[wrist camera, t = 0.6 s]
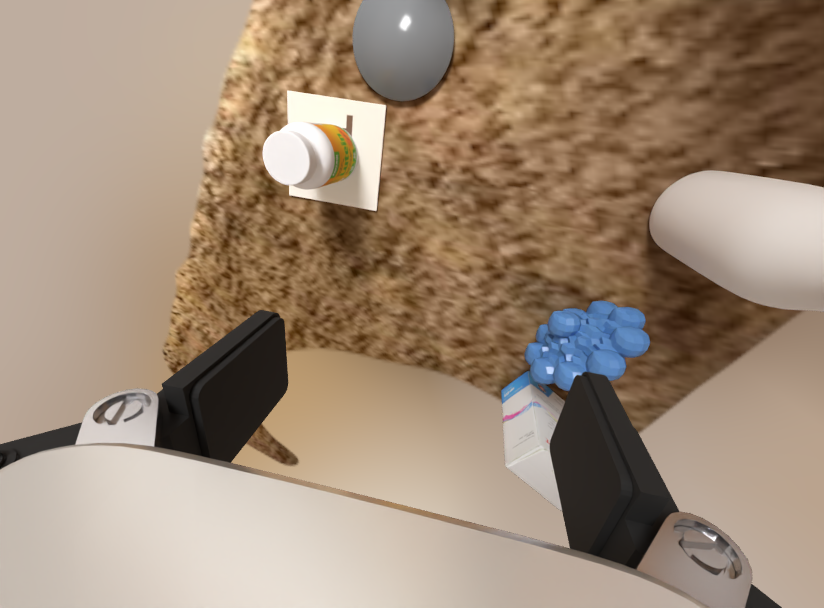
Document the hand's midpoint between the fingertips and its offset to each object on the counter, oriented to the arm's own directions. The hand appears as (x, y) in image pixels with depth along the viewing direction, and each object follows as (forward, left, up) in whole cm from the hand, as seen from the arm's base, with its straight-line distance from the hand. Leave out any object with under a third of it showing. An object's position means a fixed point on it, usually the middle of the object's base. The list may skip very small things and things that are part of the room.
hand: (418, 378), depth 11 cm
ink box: (+22, +14, -28) cm, 38 cm away
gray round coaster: (-13, -8, -28) cm, 32 cm away
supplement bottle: (-3, -14, -28) cm, 32 cm away
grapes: (+9, +13, -28) cm, 32 cm away
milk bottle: (-3, +21, -28) cm, 35 cm away
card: (-3, -14, -28) cm, 32 cm away
